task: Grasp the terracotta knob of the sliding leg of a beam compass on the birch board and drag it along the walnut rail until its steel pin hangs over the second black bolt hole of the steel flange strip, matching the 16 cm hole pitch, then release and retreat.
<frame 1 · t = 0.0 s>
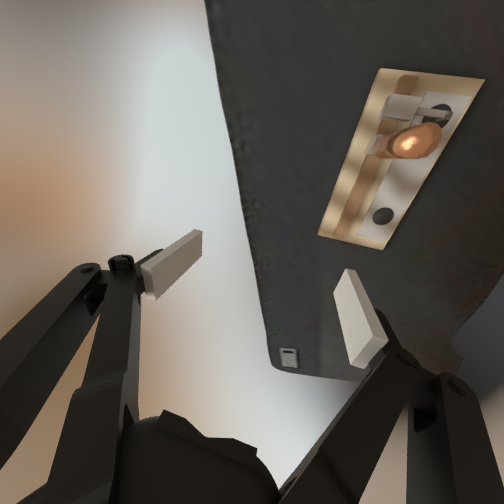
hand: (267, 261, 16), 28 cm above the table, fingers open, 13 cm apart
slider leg: (413, 148, 25), point 9 cm above the table, slide at 0.0 cm
pitch board: (379, 175, 34), on the table
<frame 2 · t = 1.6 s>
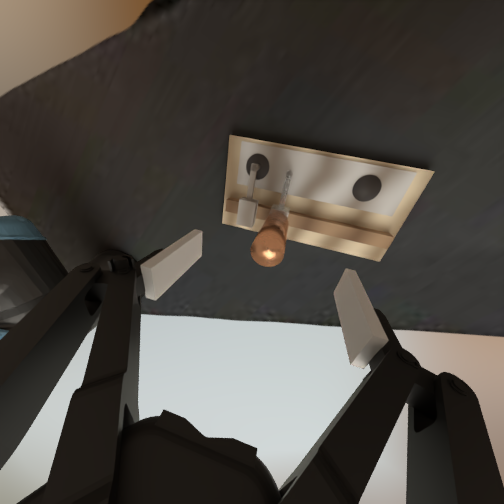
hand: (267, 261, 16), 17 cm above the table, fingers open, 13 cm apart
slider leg: (279, 211, 22), point 9 cm above the table, slide at 0.0 cm
pitch board: (308, 200, 29), on the table
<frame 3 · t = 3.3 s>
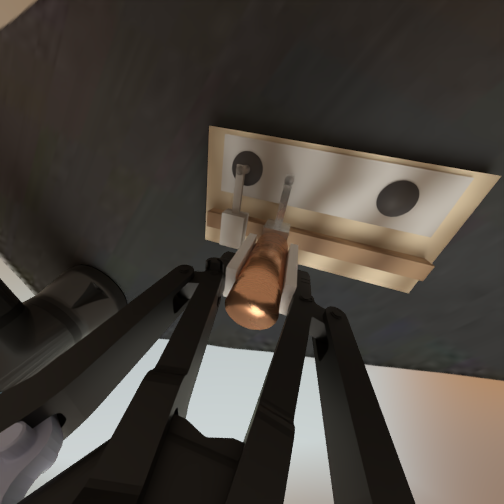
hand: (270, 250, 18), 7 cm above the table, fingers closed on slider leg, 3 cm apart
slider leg: (274, 234, 16), point 9 cm above the table, slide at 0.0 cm, touching gripper
pitch board: (315, 213, 22), on the table
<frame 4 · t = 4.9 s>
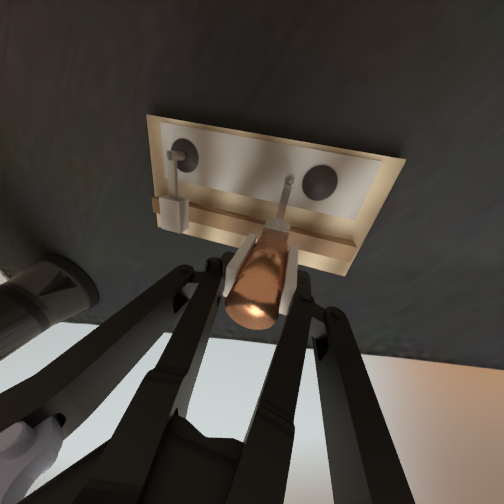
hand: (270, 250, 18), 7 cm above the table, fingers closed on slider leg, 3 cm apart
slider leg: (274, 234, 16), point 9 cm above the table, slide at 7.9 cm, touching gripper
pitch board: (254, 199, 23), on the table
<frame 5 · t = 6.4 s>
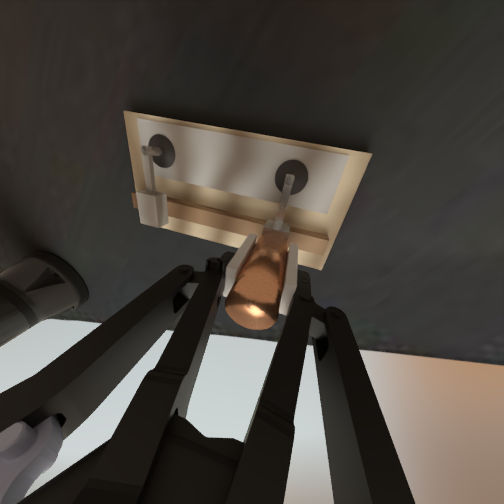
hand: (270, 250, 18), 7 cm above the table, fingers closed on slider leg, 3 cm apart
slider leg: (274, 234, 16), point 9 cm above the table, slide at 10.9 cm, touching gripper
pitch board: (232, 194, 24), on the table
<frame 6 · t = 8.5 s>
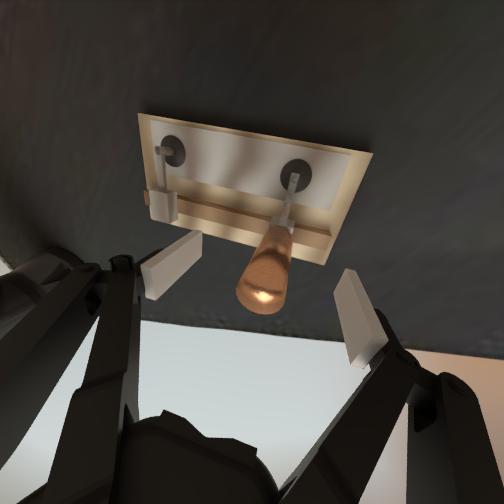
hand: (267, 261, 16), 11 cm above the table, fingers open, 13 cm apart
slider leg: (280, 228, 17), point 9 cm above the table, slide at 11.0 cm
pitch board: (239, 192, 25), on the table
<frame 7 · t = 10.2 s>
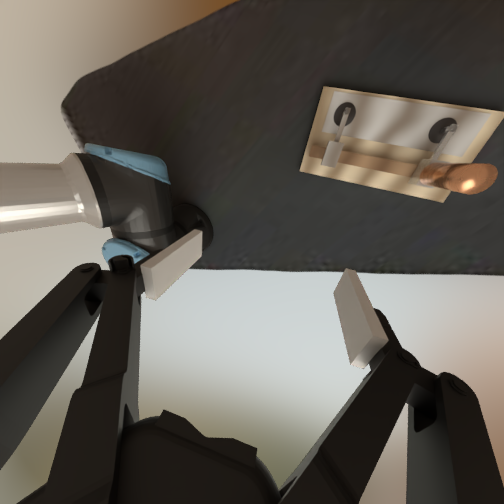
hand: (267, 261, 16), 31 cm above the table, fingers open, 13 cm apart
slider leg: (454, 156, 26), point 9 cm above the table, slide at 11.0 cm
pitch board: (383, 147, 34), on the table
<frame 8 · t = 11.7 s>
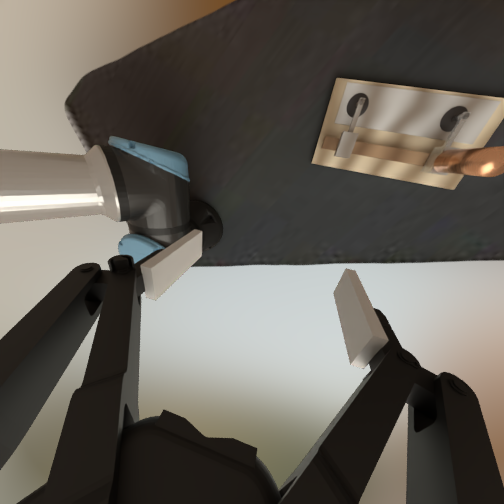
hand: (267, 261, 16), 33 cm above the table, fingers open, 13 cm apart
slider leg: (469, 142, 27), point 9 cm above the table, slide at 11.0 cm
pitch board: (395, 137, 35), on the table
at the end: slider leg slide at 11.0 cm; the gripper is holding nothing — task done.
